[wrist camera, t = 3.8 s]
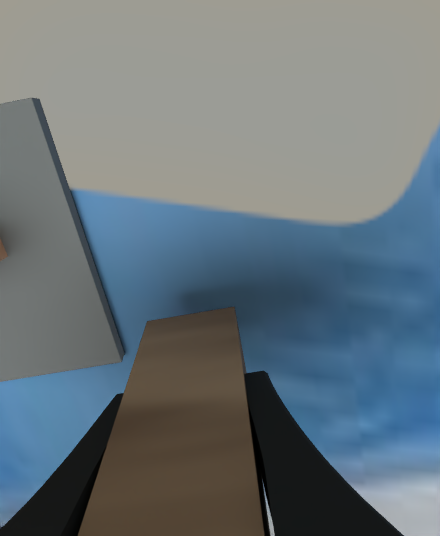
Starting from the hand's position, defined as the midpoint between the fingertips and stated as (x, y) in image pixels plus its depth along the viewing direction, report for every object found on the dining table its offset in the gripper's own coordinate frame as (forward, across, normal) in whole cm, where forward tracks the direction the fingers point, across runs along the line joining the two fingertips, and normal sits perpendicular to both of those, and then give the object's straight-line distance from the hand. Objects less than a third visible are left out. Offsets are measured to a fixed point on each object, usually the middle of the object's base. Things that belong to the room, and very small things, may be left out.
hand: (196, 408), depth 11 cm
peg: (+3, 0, 0) cm, 3 cm away
